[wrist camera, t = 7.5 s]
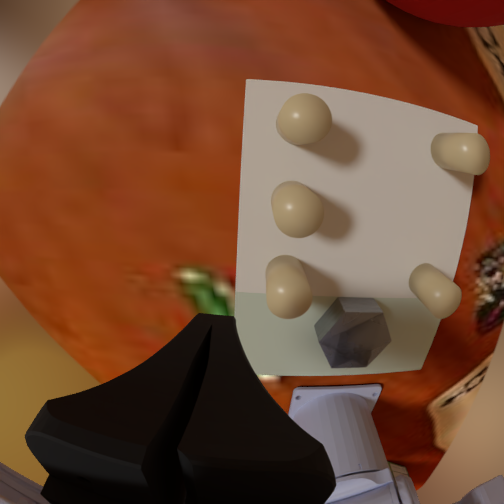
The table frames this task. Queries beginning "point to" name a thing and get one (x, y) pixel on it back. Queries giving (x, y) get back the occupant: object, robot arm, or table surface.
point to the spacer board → (348, 221)
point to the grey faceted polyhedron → (352, 332)
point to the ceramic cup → (455, 11)
